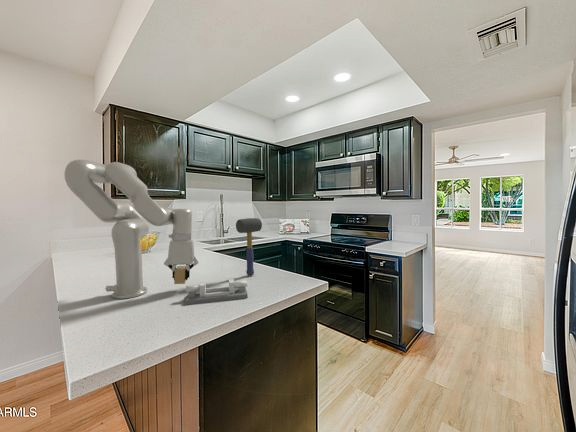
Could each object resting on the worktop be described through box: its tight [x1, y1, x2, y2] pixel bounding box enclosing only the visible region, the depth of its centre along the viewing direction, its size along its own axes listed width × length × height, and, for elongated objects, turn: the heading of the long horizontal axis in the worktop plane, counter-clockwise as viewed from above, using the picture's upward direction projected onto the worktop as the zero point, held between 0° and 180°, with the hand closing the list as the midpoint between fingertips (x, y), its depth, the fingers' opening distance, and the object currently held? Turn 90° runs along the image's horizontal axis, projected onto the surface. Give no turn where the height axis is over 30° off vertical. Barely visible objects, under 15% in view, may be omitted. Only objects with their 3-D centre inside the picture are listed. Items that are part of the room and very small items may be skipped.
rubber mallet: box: [235, 217, 263, 277], centre depth 132 cm, size 12×8×30 cm, turn 131°
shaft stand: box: [184, 278, 249, 305], centre depth 103 cm, size 24×10×6 cm, turn 104°
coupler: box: [173, 265, 187, 285], centre depth 110 cm, size 8×4×6 cm, turn 15°
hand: (181, 279), depth 111 cm, fingers closed on coupler, 4 cm apart
